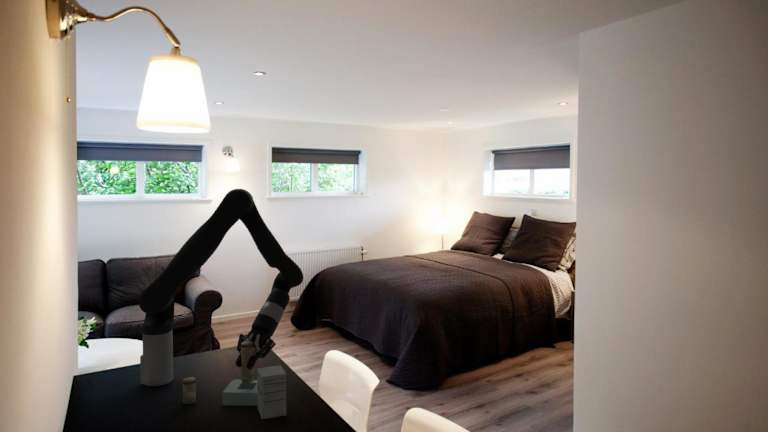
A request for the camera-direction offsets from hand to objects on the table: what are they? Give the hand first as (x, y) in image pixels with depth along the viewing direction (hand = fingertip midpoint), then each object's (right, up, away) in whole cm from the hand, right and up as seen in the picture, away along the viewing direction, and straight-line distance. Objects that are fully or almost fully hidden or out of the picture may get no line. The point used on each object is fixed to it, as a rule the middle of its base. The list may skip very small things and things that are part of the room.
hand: (243, 367), depth 149 cm
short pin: (-16, -11, 0) cm, 20 cm away
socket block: (+1, -11, +2) cm, 11 cm away
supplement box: (+10, -11, -7) cm, 17 cm away
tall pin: (+1, -5, +2) cm, 5 cm away
